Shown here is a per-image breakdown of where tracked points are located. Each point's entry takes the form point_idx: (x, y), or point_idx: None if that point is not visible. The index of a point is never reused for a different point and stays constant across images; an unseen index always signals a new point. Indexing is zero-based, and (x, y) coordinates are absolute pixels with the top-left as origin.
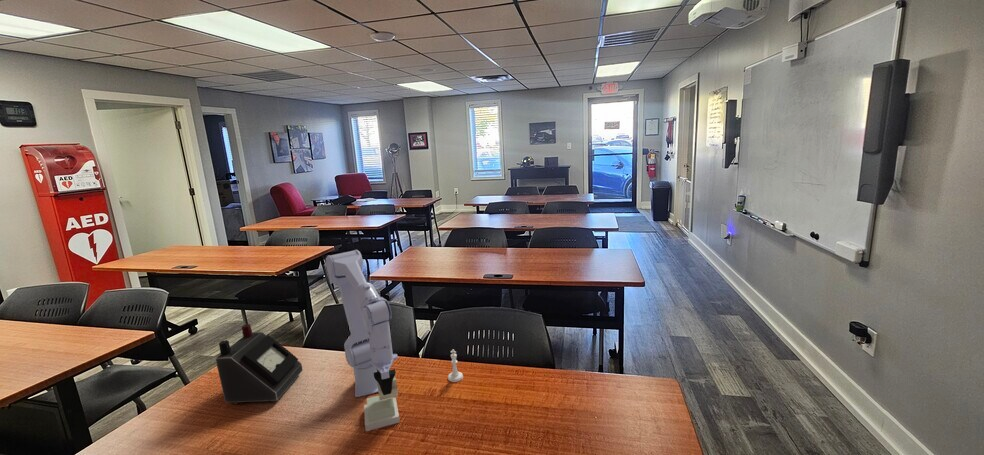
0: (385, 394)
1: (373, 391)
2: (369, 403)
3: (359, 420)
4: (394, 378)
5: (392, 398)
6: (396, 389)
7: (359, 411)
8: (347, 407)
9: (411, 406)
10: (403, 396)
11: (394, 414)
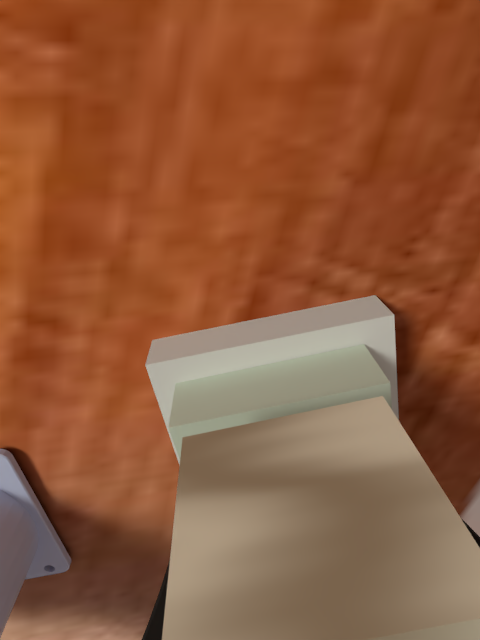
0: None
1: (21, 496)
2: None
3: None
4: (458, 637)
5: (265, 409)
6: (422, 463)
7: None
8: (155, 574)
9: (214, 224)
10: (74, 297)
11: (363, 349)
